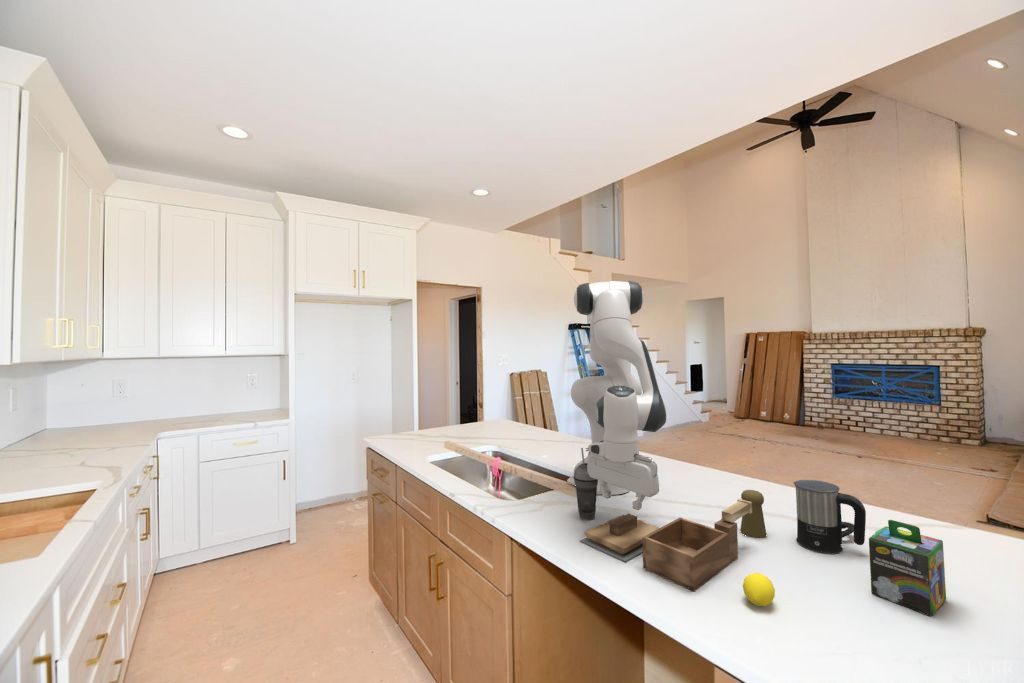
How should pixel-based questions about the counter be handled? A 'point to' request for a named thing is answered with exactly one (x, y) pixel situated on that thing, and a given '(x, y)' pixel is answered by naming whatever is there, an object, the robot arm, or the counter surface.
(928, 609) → the chalk box
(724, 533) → the brown wooden box
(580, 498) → the beverage cup
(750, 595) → the lemon
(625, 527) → the lid
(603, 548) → the mat
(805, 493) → the milk frother
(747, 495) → the olive chess pawn
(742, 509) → the light wooden bar
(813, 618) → the counter surface
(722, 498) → the counter surface
